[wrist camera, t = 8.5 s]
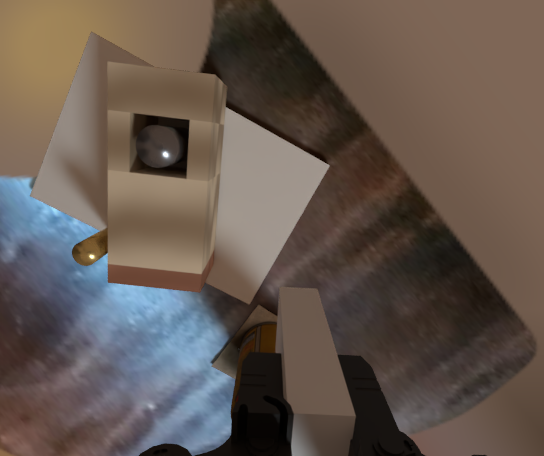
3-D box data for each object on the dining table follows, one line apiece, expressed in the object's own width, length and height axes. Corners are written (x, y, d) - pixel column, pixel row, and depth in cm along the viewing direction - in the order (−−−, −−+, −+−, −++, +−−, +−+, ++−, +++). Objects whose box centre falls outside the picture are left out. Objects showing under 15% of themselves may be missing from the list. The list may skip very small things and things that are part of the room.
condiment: (317, 341, 36) (338, 439, 24) (269, 398, 38) (267, 515, 26) (258, 303, 35) (250, 386, 23) (212, 364, 37) (182, 469, 25)
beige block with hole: (141, 76, 29) (107, 61, 23) (227, 86, 29) (215, 74, 23) (137, 256, 33) (107, 282, 27) (213, 264, 33) (200, 292, 27)
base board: (35, 194, 32) (30, 195, 32) (96, 34, 29) (91, 31, 28) (250, 300, 35) (249, 304, 34) (328, 164, 31) (329, 165, 31)
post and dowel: (112, 232, 33) (66, 259, 26) (164, 115, 30) (130, 108, 23) (150, 251, 34) (116, 283, 26) (205, 137, 31) (184, 137, 24)
